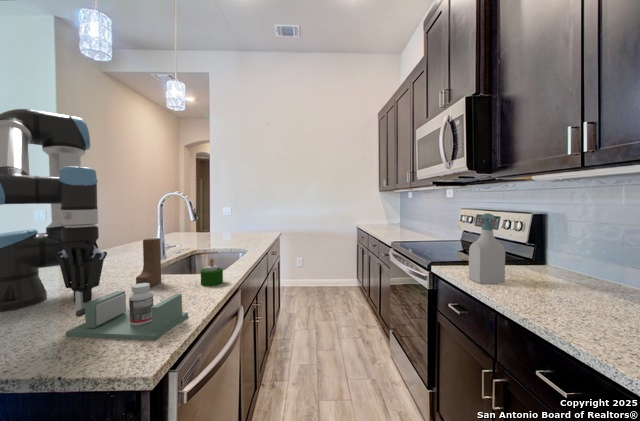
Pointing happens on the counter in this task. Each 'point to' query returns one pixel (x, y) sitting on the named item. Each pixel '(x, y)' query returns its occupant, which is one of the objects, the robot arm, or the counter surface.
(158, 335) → the vise
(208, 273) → the candle
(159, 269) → the wooden block
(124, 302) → the sliding jaw
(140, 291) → the pill bottle
